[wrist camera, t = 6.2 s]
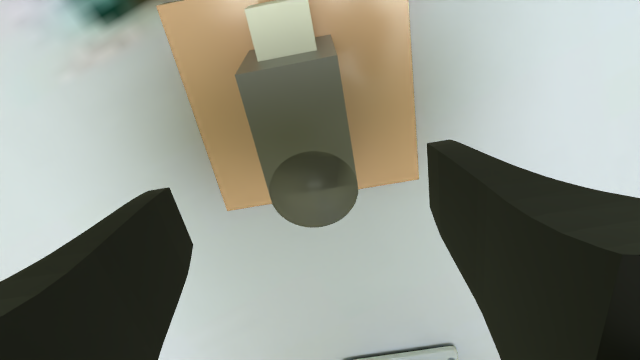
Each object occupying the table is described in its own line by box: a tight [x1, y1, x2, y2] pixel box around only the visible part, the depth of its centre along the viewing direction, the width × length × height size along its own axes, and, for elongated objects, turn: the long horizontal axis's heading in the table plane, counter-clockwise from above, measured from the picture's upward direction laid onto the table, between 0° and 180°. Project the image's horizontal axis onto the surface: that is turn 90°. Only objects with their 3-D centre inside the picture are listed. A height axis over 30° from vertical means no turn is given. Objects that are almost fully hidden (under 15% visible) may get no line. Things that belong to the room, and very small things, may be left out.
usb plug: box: [235, 0, 358, 227], centre depth 16 cm, size 8×4×4 cm, turn 10°
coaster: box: [156, 0, 419, 211], centre depth 18 cm, size 10×10×1 cm
